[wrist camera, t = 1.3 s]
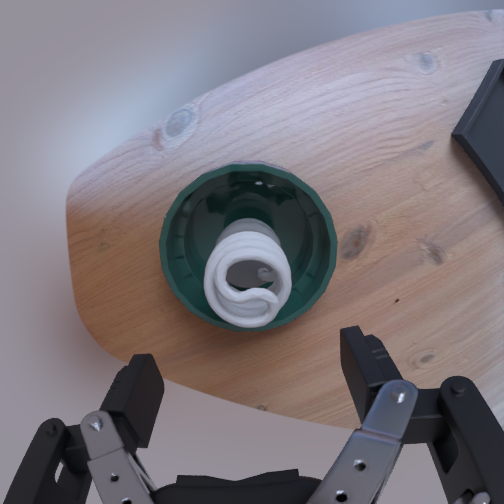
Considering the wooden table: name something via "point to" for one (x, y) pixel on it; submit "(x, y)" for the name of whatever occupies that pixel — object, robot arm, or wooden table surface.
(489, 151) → the tray
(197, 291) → the bowl
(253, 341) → the wooden table surface
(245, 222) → the light bulb
